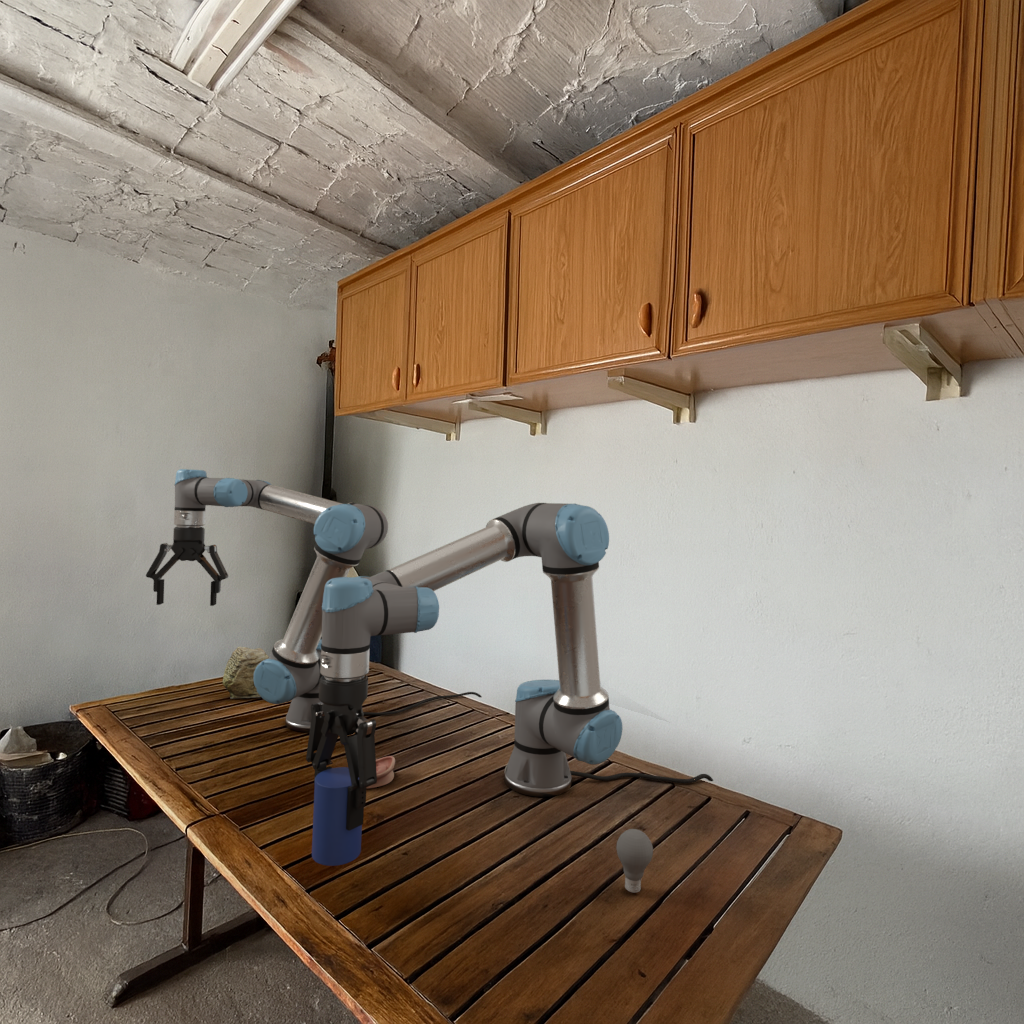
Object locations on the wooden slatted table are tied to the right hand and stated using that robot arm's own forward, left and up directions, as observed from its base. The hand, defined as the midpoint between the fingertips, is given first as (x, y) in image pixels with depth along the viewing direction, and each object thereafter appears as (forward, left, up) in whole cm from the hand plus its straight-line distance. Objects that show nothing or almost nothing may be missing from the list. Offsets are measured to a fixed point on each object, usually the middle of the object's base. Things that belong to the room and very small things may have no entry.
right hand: (338, 817), depth 101 cm
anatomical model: (-9, -41, -13) cm, 43 cm away
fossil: (+16, -109, -13) cm, 111 cm away
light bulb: (-47, +13, -13) cm, 50 cm away
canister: (0, 0, -6) cm, 6 cm away
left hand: (+33, -88, +20) cm, 96 cm away
